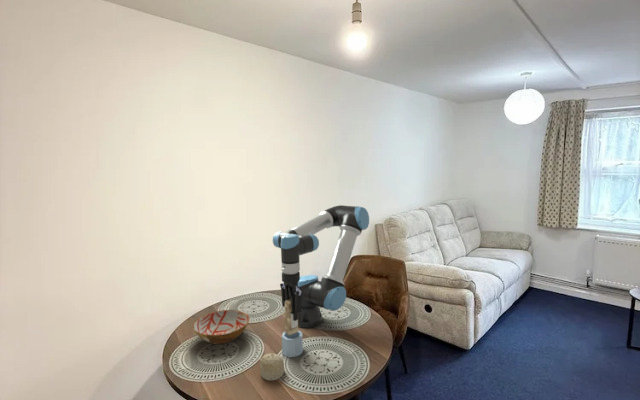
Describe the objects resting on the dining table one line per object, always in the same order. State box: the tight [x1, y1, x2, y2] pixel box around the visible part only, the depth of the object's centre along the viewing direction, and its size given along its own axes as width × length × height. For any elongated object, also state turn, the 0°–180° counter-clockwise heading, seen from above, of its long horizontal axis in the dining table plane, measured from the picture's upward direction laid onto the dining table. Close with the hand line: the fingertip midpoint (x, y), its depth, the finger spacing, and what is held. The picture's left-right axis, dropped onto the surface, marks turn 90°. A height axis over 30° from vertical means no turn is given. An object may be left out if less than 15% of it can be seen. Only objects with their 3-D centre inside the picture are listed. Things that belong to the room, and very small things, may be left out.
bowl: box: [192, 309, 250, 345], centre depth 152 cm, size 25×25×8 cm
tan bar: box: [284, 299, 299, 335], centre depth 139 cm, size 3×4×14 cm, turn 130°
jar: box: [281, 329, 304, 358], centre depth 140 cm, size 9×9×8 cm
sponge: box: [259, 353, 285, 382], centre depth 126 cm, size 9×10×10 cm
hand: (291, 325), depth 139 cm, fingers closed on tan bar, 3 cm apart
